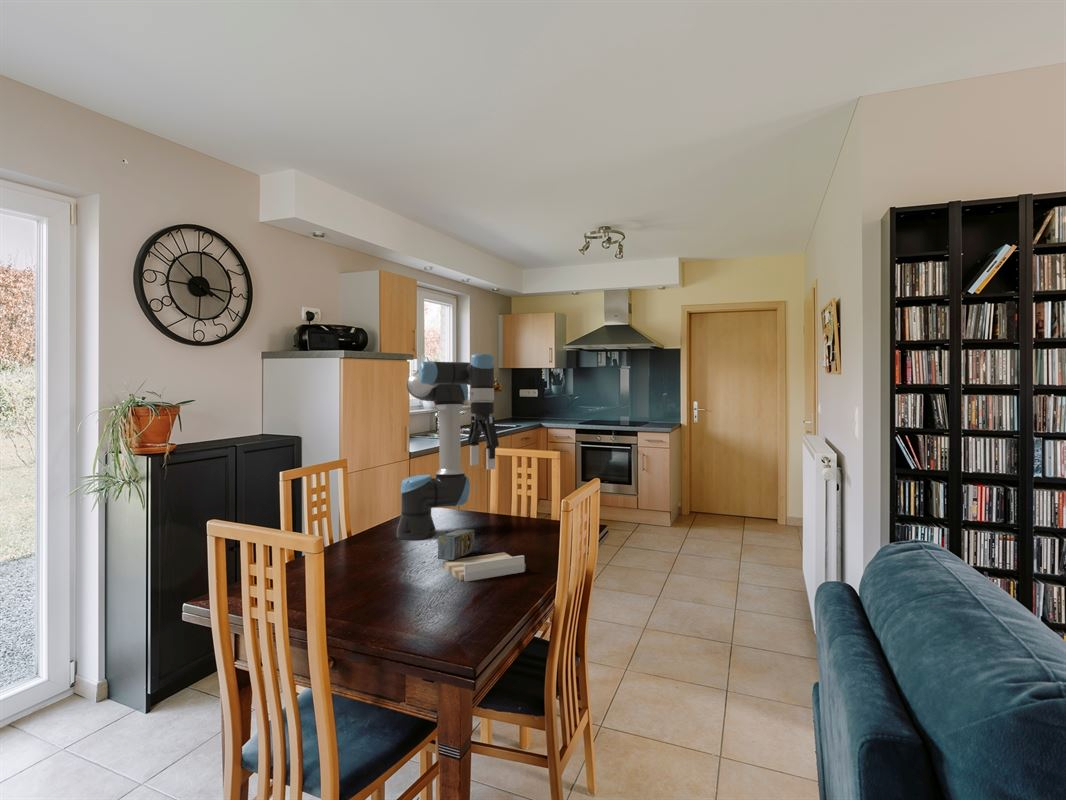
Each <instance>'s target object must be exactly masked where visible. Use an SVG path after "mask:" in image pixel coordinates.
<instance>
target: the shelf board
mask: <svg viewBox="0 0 1066 800" xmlns="http://www.w3.org/2000/svg"><path fill="white" fill-rule="evenodd" d="M508 557H513V556H512V555H510V554H509V553H506V552H497V553H491V554H483V555H482V554H481V555H478V556H470V557H469V556H468V557H463V558H457V559H454V560H442V565H443V566H442V568H444V569H445V570H446V571H447V572H449V574H451V575H452V576H453V577H454V578H455V579H457V580H458V581H460V582H463V581H464V564H468V563H475V562H481V561H488V560H495V559H501V558H508ZM526 566H527V565H526V563H524V572H525V571H526V570H527V568H526ZM464 582H465V581H464Z"/></svg>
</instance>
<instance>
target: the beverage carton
mask: <svg viewBox="0 0 1066 800" xmlns="http://www.w3.org/2000/svg"><path fill="white" fill-rule="evenodd" d="M475 532H476V531H475V529H466V528H465V529H464V528H463V529H462V528H461V529H456V530H453V531H451V532H447V533H444V534H442V535H439V536H438V539H437V560H442V561H448V560H455V559H460V558H461V557H464V556H466V555H469V554H470V553H472V552H474V551H475V534H476V533H475Z"/></svg>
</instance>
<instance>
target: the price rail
mask: <svg viewBox="0 0 1066 800" xmlns="http://www.w3.org/2000/svg"><path fill="white" fill-rule="evenodd" d="M524 564H525V555H516V556H515V555H514V556H512V557H508V558H501V559H495V560H488V561H481V562H475V563H468V564H464V583H465V582H470V581H478V580H484V579H489V578H495V577H502V576H506V575H507V576H508V575H513V574H519V573H524V572H525V571H524Z"/></svg>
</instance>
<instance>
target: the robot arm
mask: <svg viewBox="0 0 1066 800" xmlns="http://www.w3.org/2000/svg"><path fill="white" fill-rule="evenodd" d="M494 383H495V360H494V356H493V355H492V354H489V353H473V354H471V356H470V362H467V361H466V362H464V361H463V362H460V361H433V360H430V361H429V360H427V361H421V362H420V364H419V366H418V372H417V371H416V372H413V374H411V375H410V376H409V377H408V379H407V382H406V388H407V391H408V393H409V394H410V395H411V396H412V397H414V398H415V399H417V400H420V401H425V402H434V407H435V408H436V409H438V441H439V442H438V443H439V445H438V447H439V448H438V451H439V452H438V454H439V457H438V459H439V470H437V471H436V473H435V477H432V475H430V474H419V475H414V476H409V477H406V478H404V479H403V480H402V481H401V483H400V484H401V485H400V494H401V495H400V499H401V501H400V508H401V509H400V518H399V521H398V522H399V523H398V526H397V529H396V538H397V539H400V540H406V541H418V540H425V539H426V540H427V539H430V538H433V537H434V536H436V534H437V531H436V529H437V528H436V526H435V523H434V519H433V516H432V509H436V508H447V507H449V508H450V507H454V508H456V507H458V506H459V507H461V506H464V505H465V504H466V503H467V501H468V499H469V496H470V490H471V489H470V487H471V485H470V484H471V483H470V478H469V477H468V476H466V472H465V471H464V470H463V469H462V453H461V451H462V449H461V448H462V447H461V444H462V443H461V439H462V438H461V409H462V408H463V407H464V405H465V403H464V402H467V400H468V397H469V394H470V401H472V402H471V403H470V414H472V416H470V426H469V432H468V437H467V443H468V444H469V445H470V447H469V449H470V451H469V452H470V455H469V456H470V457H469V458H470V461H469V462H470V466H479V464H480V462H479V461H480V459H479V457H480V455H479V454H480V451H479V450H480V449H479V448H480V442H479V441H480V438H481V435H482V433H483V437H484V439H485V442H486V447H485V449H486V470H488V471H489V470H496V449H497V447H499V446H500V443H499V439H498V434H497V433H498V432H497V429H496V424H495V417H494V416H490V415H491V414H494V413H495V404H494V402H493V401H494V400H495V388H494V387H495V384H494ZM468 386H470V391H469V388H468ZM474 415H475V416H474Z"/></svg>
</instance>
